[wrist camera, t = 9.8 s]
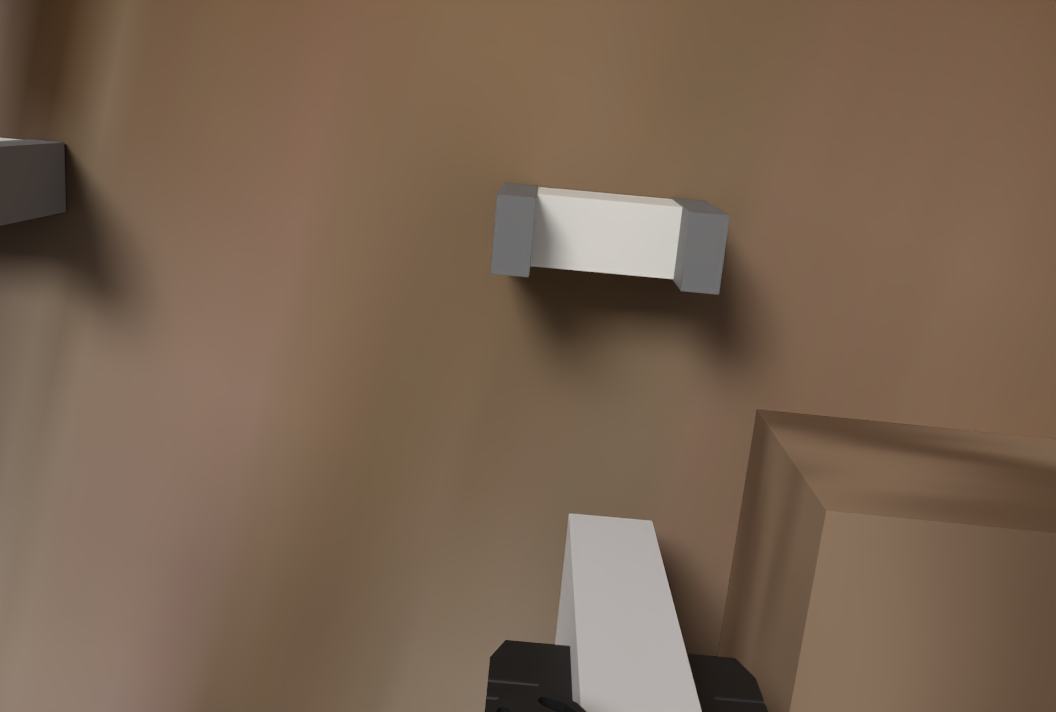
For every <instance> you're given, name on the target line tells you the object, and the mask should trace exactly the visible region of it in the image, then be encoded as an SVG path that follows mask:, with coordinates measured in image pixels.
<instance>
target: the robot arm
mask: <svg viewBox="0 0 1056 712" xmlns="http://www.w3.org/2000/svg"><path fill="white" fill-rule="evenodd" d="M485 712H768V710H767V707H766V704H764V699H763V696H762V694H761V691H760V688H759V686H758V683H757V680H756V678H755V677H754V676H753V675H752V674H751V673H750V672H749V671H748V670H747V669H746V668H745V667H744V666H743V665H742V664H741V663H740V662H739V661H738V660H737V659H736V658H728V657H717V656H706V655H694V654H687V653H686V649H685V645H684V641H683V638H682V634H681V630H680V626H679V622H678V618H677V615H676V611H675V607H674V603H673V599H672V595H671V592H670V588H669V584H668V580H667V576H666V572H665V569H664V565H663V561H662V557H661V553H660V549H659V546H658V542H657V538H656V534H655V530H654V526H653V523H652V521H648V520H637V519H626V518H615V517H604V516H593V515H582V514H570V513H569V518H568V528H567V537H566V547H565V556H564V565H563V575H562V584H561V593H560V603H559V612H558V621H557V631H556V640H555V644H543V643H532V642H521V641H510V640H505V641H504V643H503V644H502V645H501V646H500V647H499V648H498V649H497V650H496V651H495V653H494V654H493V655H492V656H491V657H490V666H489V676H488V686H487V696H486V706H485Z"/></svg>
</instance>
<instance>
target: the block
mask: <svg viewBox="0 0 1056 712" xmlns="http://www.w3.org/2000/svg"><path fill="white" fill-rule="evenodd" d="M717 657H728V658H736V659H737V660H738V661H739V662H740V663H741V664H742V665H743V666H744V667H745V668H746V669H747V670H748V671H749V672H750V673H751V674H752V675H753V676H754V677H755V678H756V680H757V683H758V686H759V688H760V691H761V694H762V696H763V699H764V704H766V707H767V710H768V712H1056V439H1049V438H1039V437H1029V436H1019V435H1009V434H999V433H989V432H979V431H969V430H959V429H948V428H938V427H928V426H918V425H908V424H898V423H888V422H878V421H868V420H858V419H848V418H838V417H828V416H818V415H807V414H797V413H787V412H777V411H767V410H757V412H756V418H755V424H754V430H753V437H752V443H751V449H750V455H749V462H748V468H747V474H746V480H745V487H744V493H743V499H742V505H741V512H740V518H739V524H738V530H737V537H736V543H735V549H734V555H733V561H732V568H731V574H730V580H729V586H728V593H727V599H726V605H725V611H724V618H723V624H722V630H721V636H720V643H719V649H718V655H717Z"/></svg>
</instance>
